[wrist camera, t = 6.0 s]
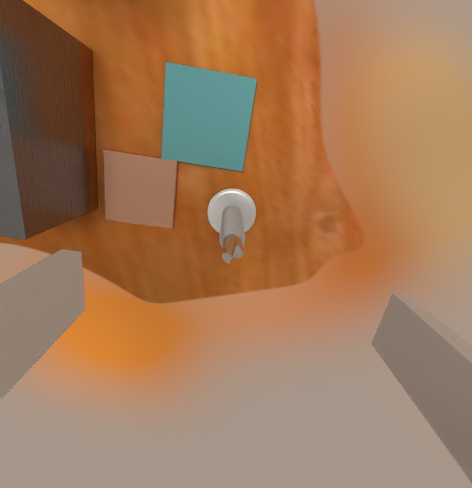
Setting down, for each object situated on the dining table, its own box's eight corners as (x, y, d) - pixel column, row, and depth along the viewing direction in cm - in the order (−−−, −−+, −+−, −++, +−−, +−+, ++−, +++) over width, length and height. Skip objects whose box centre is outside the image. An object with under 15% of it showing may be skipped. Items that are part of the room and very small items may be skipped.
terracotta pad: (107, 218, 27) (105, 219, 26) (106, 149, 25) (103, 149, 24) (173, 227, 27) (172, 228, 27) (178, 160, 25) (176, 161, 25)
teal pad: (162, 158, 25) (161, 158, 24) (167, 64, 22) (165, 61, 22) (242, 171, 26) (242, 171, 25) (256, 80, 23) (257, 78, 22)
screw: (261, 195, 26) (244, 236, 28) (217, 178, 26) (203, 221, 27) (287, 234, 14) (255, 302, 16) (206, 204, 14) (181, 279, 15)
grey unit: (44, 200, 26) (-59, 228, 17) (26, 37, 21) (-133, -50, 12) (97, 207, 27) (25, 239, 17) (91, 50, 22) (-14, -26, 12)
